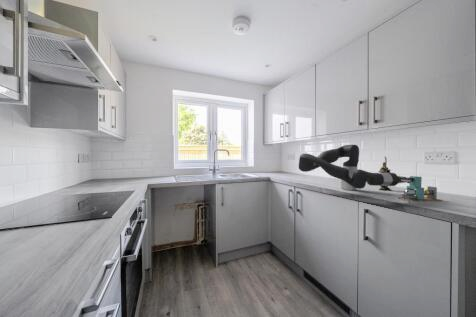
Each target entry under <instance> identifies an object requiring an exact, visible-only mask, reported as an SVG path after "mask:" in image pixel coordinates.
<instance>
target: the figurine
mask: <svg viewBox="0 0 476 317" xmlns="http://www.w3.org/2000/svg"><path fill="white" fill-rule="evenodd" d="M387 163H388V162H387V156H384V162H382V166H381V167H380V168H379V170H378V173H392V172H391V169H389V167H388V166H387ZM378 190H379V191H384V192H388V191H390V192H391V191H392V189H390V187H389V186H380V187H379V189H378Z"/></svg>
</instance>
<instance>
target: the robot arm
mask: <svg viewBox="0 0 476 317" xmlns="http://www.w3.org/2000/svg"><path fill="white" fill-rule="evenodd" d="M341 158H348V159H347V160H346V161H344V162H343V163H342V166H341V165H340V166H339V165H335V164H333V163H335V162H337V161H338V160H339V159H341ZM359 158H360V148H359V145H357V144H344V145H342V146H340V147H337V148H333V149H329V150H324V151H322V152H321V153H319V155H318V156H315V155H313V154H312V153H311V154H310V153H302V154H300V155H299V158H298V169H299V171H301V172H306V173H307V172H312V171H314V170H316V169H318V168H321V169H322V170H323V171H324V172H326V174H328V175H329V176H330V177H332V178H333V177H334V178H335V179H338V180H341V182H340V183H341V185H340V186H341V190H342V189H343V190H346V191H357V190H358V189H359V190H360V189H364V188H365V187H366V184H367V185H368V186H379V187H381V186H388V187H396V186H397V185H398V184H405V183H406V184H410V183H411V182H413V181H414V178H410V177H407V176H401V175H400V176H399V175H397V174H396V173H395V172H391V173H380V172H371V171H366V170H364V169H358V165H359Z"/></svg>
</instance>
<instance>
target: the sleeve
mask: <svg viewBox="0 0 476 317" xmlns="http://www.w3.org/2000/svg"><path fill="white" fill-rule="evenodd" d="M409 178H414V181H413V182H411V183H409V186H408V185H407V186H406V190H416V195H411V196H412V198H414V199H424V197H425V196H424V189H425V187H422V180H423V179H422V176H418V175H416V176H415V175H410V176H409Z"/></svg>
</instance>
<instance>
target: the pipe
mask: <svg viewBox="0 0 476 317" xmlns="http://www.w3.org/2000/svg"><path fill="white" fill-rule="evenodd" d="M426 188H427V189H426ZM426 188H424V197H427V198H431V199H438V198H437V197H438V196H437V195H438V194H437V193H438V187H436V186H427V187H426ZM401 195H402V198H404V199H409V200H412V196H411V195H414V196H416V189H414V190H407V189H405V190H404V189H403V193H402V194H401Z"/></svg>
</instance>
